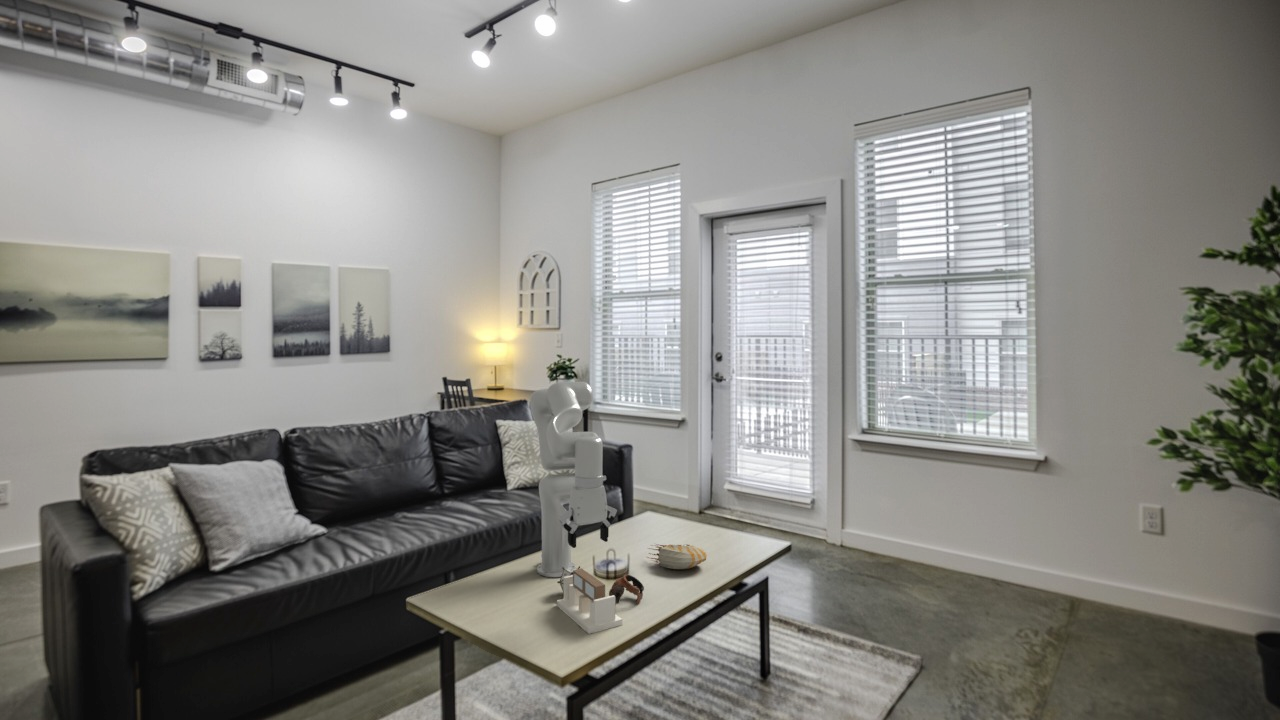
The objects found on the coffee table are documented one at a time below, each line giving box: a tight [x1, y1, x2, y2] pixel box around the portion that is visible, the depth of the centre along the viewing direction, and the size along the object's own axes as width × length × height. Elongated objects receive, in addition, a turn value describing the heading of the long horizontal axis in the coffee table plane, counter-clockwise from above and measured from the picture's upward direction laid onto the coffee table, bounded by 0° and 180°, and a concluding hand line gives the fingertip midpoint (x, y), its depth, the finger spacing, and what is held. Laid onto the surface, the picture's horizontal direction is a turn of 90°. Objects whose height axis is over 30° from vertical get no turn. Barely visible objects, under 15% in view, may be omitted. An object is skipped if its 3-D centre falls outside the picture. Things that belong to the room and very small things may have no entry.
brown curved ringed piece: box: [608, 573, 645, 605], centre depth 181 cm, size 12×10×8 cm
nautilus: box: [646, 543, 707, 571], centre depth 210 cm, size 8×22×15 cm
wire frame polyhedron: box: [556, 565, 581, 598], centre depth 186 cm, size 9×8×10 cm
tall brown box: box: [573, 567, 606, 601], centre depth 172 cm, size 14×3×4 cm, turn 32°
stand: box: [556, 575, 623, 635], centre depth 173 cm, size 20×10×8 cm, turn 32°
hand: (588, 543), depth 172 cm, fingers open, 9 cm apart
